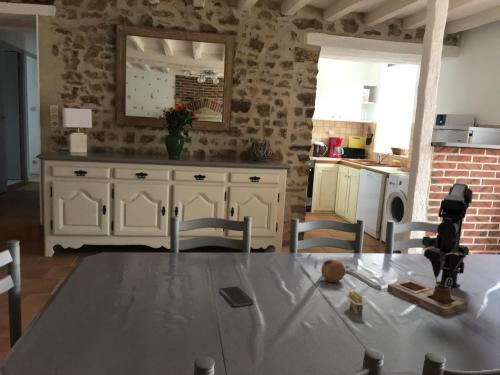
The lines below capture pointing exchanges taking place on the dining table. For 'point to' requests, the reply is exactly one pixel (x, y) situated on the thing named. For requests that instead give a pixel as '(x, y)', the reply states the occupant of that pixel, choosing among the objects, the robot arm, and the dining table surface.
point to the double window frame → (425, 297)
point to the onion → (333, 270)
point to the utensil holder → (442, 293)
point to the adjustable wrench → (361, 277)
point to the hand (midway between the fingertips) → (443, 274)
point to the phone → (236, 296)
